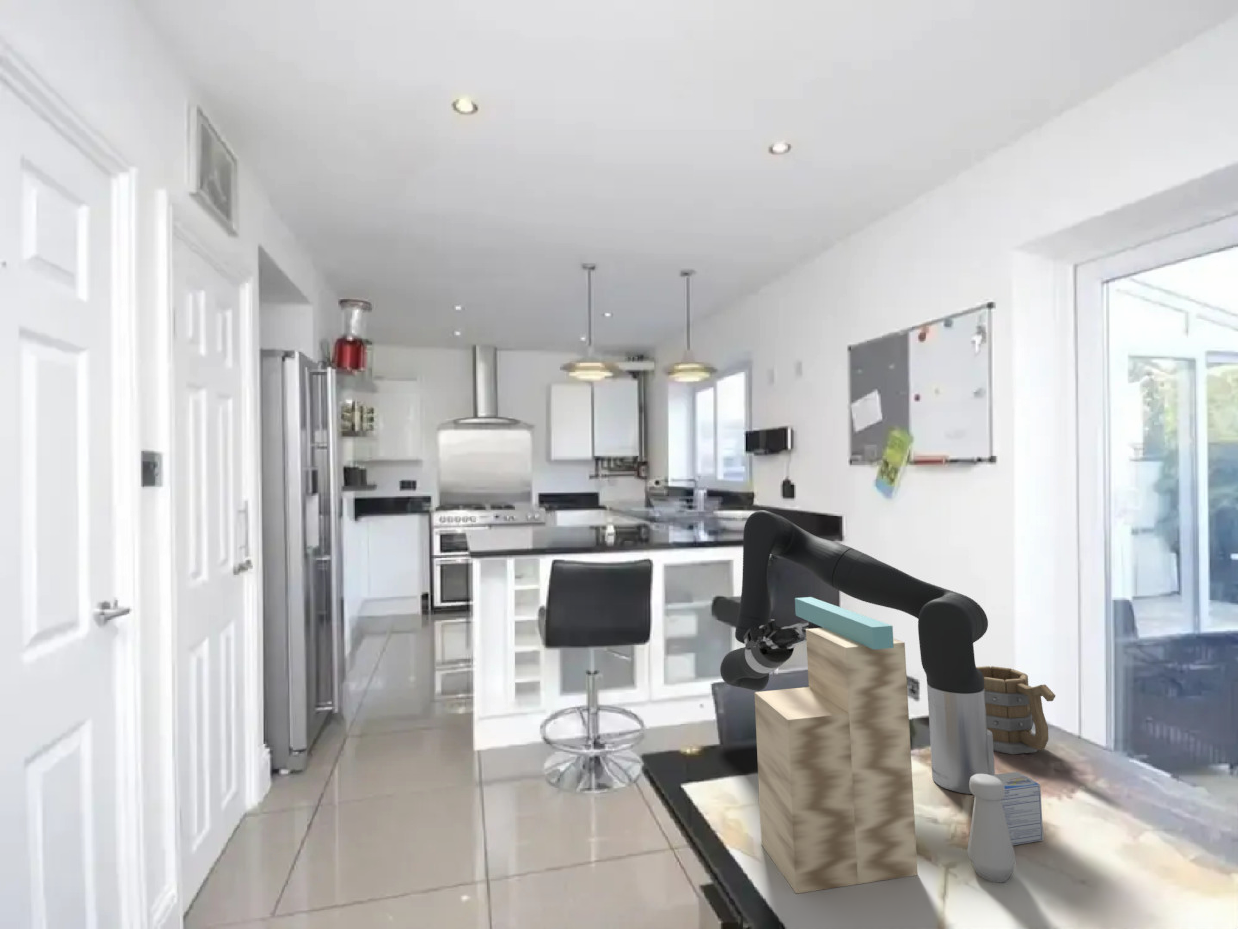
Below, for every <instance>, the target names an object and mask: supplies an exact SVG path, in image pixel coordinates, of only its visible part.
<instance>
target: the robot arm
mask: <svg viewBox="0 0 1238 929" xmlns="http://www.w3.org/2000/svg"><path fill="white" fill-rule="evenodd" d="M742 537H743V541H742V542H743V543H742V545H743V546H742V581H741V596H740V602H739V609H738V613H737V614H738V615H737V619H736V627H735V633H734V637H735V639H736V641H738V642H739V643H742V644H744V645H745V646H744V647H740V648H737V649H736V648H735V649H733V650H732V651H730V652H728V653H726V655H725V656H724V657H723V659H722V661H721V663H720V668H719V671H720V676H721V679H722V680H723V682H724V683H726V684H727V685H729V686H732V687H736V688H740V689H747V690H751V691H755V692H761V691H763V690H764V689H765V688H766V687H767V685H768V683H769V681H770V673H771V672H774V671H775V670H777V669H778V668H780V667H781V666H782V665H783V664H784V663H786V662H787V661H788V660H790V658H791V657H792V656H793V653H794V649H795V647H796V646H798V645H801V644H804V643H807V640H806V629H814V628H823V627H821V626H819V625H816V624H814V623H812V622H809V621H808V622H805V623H795V624H791V625H789V626H783V627H782V626H780V625H778V624H777V623H776V620H775V619H771V614H772V613H771V611H772V604H771V603H772V602H771V594H770V588H769V580H768V579H769V577H768V574H769V572H768V570H769V563H770V562H769V561H770V558H771V555H772V556H777V557H780V558H782V559H785V560H788V561H790V562H794V563H796V564H798V565H799V566H802V567H804V568H806V569H807V570H808V571H810V572H811V573H812V574H813V575H815V577H817V578H818V579H820V580H821V581H822V582H824V583H825V584H826V585H829V586H830V587H832V588H834V589H835V590H837V591H839V592H841V593H842V594H845V595H847V596H849V597H852V598H854V599H857V600H859V601H861V602H865V603H868V604H872V605H876V606H880V607H884V608H889V609H893V610H897V611H900V612H903V613H906V614H908V615H910V616H913V617H914V618H916V619H918V622H917V631H918V643H919V651H920V652H919V653H920V662H921V665H922V666H921V667H922V669H923V672H924V673H925V677H926V689H927V691H926V692H927V705H928V706H927V707H928V724H929V739H930V740H929V741H930V742H929V743H930V760H931V761H930V762H931V763H930V764H931V773H932V774H931V776H932V777H931V778H932V780H933V781H934V783H936V784H937V785H938V786H940V787H942V788H943V789H946V790H949V791H952V792H955V793H961V794H967V795H968V794H970V795H973V794H972V793H971V791H970V788H969V781H970V778H971V776H973V775H975V774H988V775H996V768H995V757H994V756H995V755H994V754H995V751H993V735H992V732H991V731H990V730H988V729H987V721H986V706H985V689H984V676H983V673H982V672H981V671H980V670H979V669H977V668H976V667H977V666H976V661H975V660H976V659H975V650H974V643H976V642H978V641H979V640H980V639H981V638H983V636H985V634H986V632H987V630H988V627H989V620H988V616H987V613H986V612H985V610H984V609H983V607H982V606H981V605H980V604H979V603H978V602H976V600H974V599H972V598H971V597H969V596H967V595H964V594H962V593H960V592H956V591H953V590H950V589H947V588H944V587H941V586H938V585H935V584H932V583H930V582H926V581H925V580H924V581H923V580H921V579H919V578H916V577H914V576H912V575H910V574H908V573H906V572H904V571H902V570H900V569H898V568H896V567H895V566H892V565H889V564H887V563H886V562H883V561H882V560H881V561H880V560H879V559H877V558H875V557H873V556H871V555H868V554H867V553H864V552H862V551H860V550H858V549H855V548H853V547H851V546H848V545H845V544H843V543H840V542H836V541H833V540H829V539H825V538H821V537H819V536H816V535H814V534H812V533H810V532H809V531H806V530H805V529H803V528H801V527H799V526H798V525H797V524H795V523H794V522H792V521H790V520H789V519H787V518H785V517H784V516H782V515H779V514H776V513H773V512H771V511H768V510H761V509H760V510H757V511H754V512H752V513H751V514H750V515H749V516H748V518H747V519H746V521H745V523H744V527H743V536H742ZM796 629H797V630H798V631H797V630H796Z"/></svg>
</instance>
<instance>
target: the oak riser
mask: <svg viewBox="0 0 1238 929" xmlns="http://www.w3.org/2000/svg"><path fill="white" fill-rule="evenodd" d="M805 630H806V640H807V642H806V657H807V658H806V659H807V677H808V678H807V679H808V680H807V681H808V686H805V687H803V686H802V687H796V688H783V689H774V690H764V691H763V690H761V691H755V692H754V693H753V694H754V708H755V710H754V711H755V712H754V713H755V715H754V716H755V730H756V732H755V734H756V736H755V737H756V752H757V753H756V754H757V777H758V779H757V780H758V796H759V798H758V799H759V817H760V818H759V820H760V822H759V823H760V839H761V841H760V842H761V846H762V847H763V848H764V850H765V851H766V853H767V854H768V855H769V857H770V859H772V861H773V862H774V864H775V865H776V867H777V869H778V870H779V871H780V873H781V874H782V876H783V877H784V878H785V880H786V881H787V883H788V884H789V885H790V887H791V888H792V890H793V891H794V893H795V894H802V893H811V892H815V891H822V890H829V889H834V888H840V887H846V886H854V885H860V884H867V883H872V882H880V881H887V880H891V879H898V878H905V877H912V876H913V877H914V876H918V875H919V874H918V856H917V842H916V841H917V838H916V836H917V835H916V822H915V804H914V786H913V785H914V784H913V782H914V781H913V767H912V750H911V749H912V748H911V731H910V716H909V715H910V714H909V695H908V679H907V678H908V676H907V661H906V660H907V658H906V645H905V644H906V643H905V642H904V641H902V640H898V639H896V638H894V637H893V643H894V648H886V649H871V648H869V647H867V646H864V645H862V644H860V643H858V642H855V641H853V640H851V639H848V638H846V637H844V636H841V635H839V634H837V633H835V632H832V631H830V630H828V629H825V628H814V629H808V628H805Z"/></svg>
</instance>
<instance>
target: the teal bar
mask: <svg viewBox="0 0 1238 929" xmlns="http://www.w3.org/2000/svg"><path fill="white" fill-rule="evenodd" d="M794 609H795V616H796V617H799V618H801V619H803V620H806V621H808V622H812V623H814V624H816V625H819V626H821V627H823V628H825V629H828V630H830V631H832V632H835V633H837V634H839V635H841V636H844V637H846V638H848V639H851V640H853V641H855V642H858V643H860V644H862V645H864V646H867V647H869V648H871V649H886V648H894V643H893V638H894V630H893V628H894V627H893V625H891V624H888V623H886V622H884V621H880V620H877V619H874V618H872V617H869V616H866V615H863V614H861V613H857V612H854V611H853V610H852V611H851V610H849V609H846V608H843V607H840V606H838V605H835V604H832V603H829V602H826V601H824V600H820V599H817V598H815V597H813V596H808V597H807V596H806V597H805V596H804V597H795V598H794Z"/></svg>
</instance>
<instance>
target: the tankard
mask: <svg viewBox="0 0 1238 929" xmlns="http://www.w3.org/2000/svg"><path fill="white" fill-rule="evenodd" d="M976 668H977V669H979V670H980V671H981V672H982V673H983V676H984V689H985V706H986V721H987V729H988V730H990V731H991V732H992V735H993V751H994V752H997V753H1003V754H1006V755H1007V754H1008V755H1019V754H1022V755H1023V754H1033V753H1034V754H1035V753H1037V752H1038V751H1042V750H1045V748H1046V746H1047V743H1048V741H1049V727H1048V724H1047V720H1046V717H1045V714H1044V710H1043V703H1042V702H1043V701H1042V697H1043V698H1044V699H1045V701H1046V702H1054V700H1055V698H1056V694H1055V693H1054V692H1053V691H1052V690H1051V689H1050V688H1049V687H1048V686H1047V685H1046V684H1039V685H1036V686H1031V685H1029V674H1027V673H1025V672H1021V671H1019V670H1016V669H1014V668H1009V667H1002V666H994V665H992V666H990V665H984V666H976ZM1033 726H1034V729H1035V732H1033V731H1032V728H1033Z"/></svg>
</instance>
